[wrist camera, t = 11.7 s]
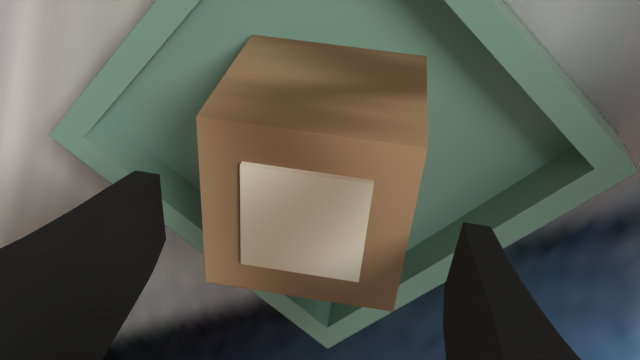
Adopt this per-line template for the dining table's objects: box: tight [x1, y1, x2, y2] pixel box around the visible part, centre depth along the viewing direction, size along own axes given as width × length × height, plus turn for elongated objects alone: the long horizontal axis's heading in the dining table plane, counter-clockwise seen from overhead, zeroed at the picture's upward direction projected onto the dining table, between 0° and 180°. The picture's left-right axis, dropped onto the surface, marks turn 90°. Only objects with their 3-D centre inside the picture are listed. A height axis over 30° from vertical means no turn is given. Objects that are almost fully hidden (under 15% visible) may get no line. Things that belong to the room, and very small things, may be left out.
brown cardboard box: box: [196, 34, 428, 312], centre depth 16 cm, size 5×5×5 cm
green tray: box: [49, 0, 639, 349], centre depth 18 cm, size 12×12×2 cm
